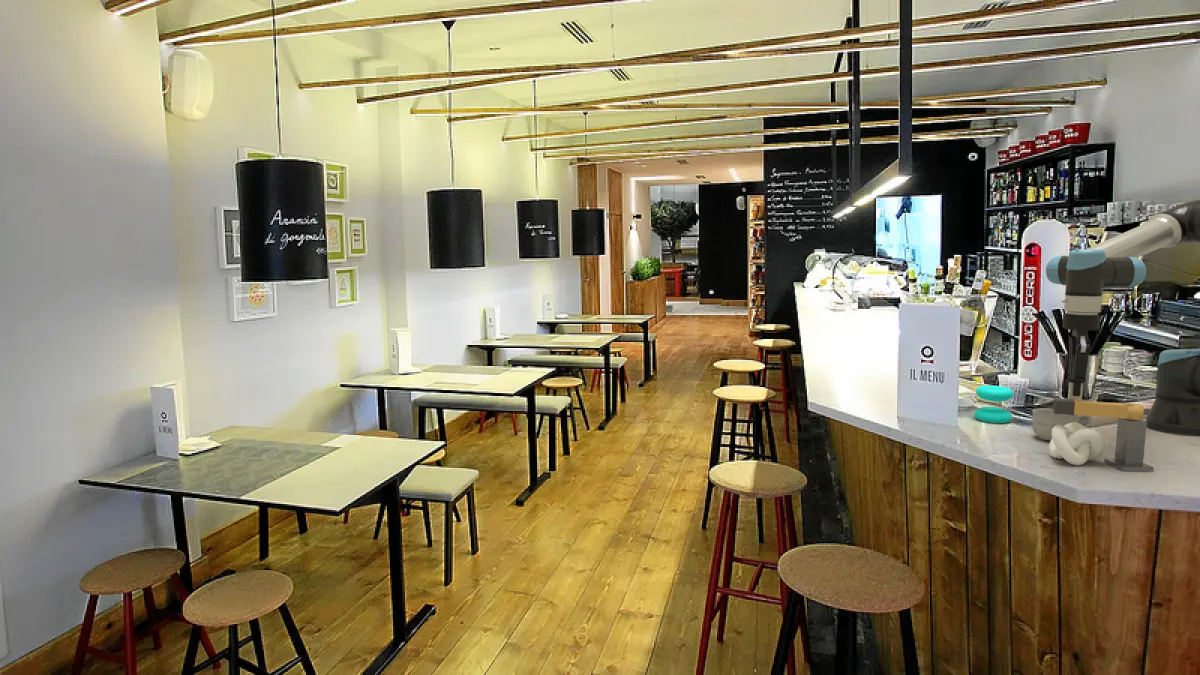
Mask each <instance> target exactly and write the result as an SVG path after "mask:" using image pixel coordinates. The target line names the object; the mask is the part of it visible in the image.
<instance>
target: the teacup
mask: <svg viewBox="0 0 1200 675" xmlns="http://www.w3.org/2000/svg"><path fill="white" fill-rule="evenodd" d="M1082 418H1086V422H1085V424H1084V425H1083V426H1084V427H1085V428H1088V429H1089V428H1090V426H1091V425H1092V423H1093V420H1092V416H1085V415H1065V414H1055V413H1054V412H1053V408H1033V409H1032V431H1033V433H1034V434H1035V435H1036V436H1038V438H1039V439H1041V440H1043V441H1048V442H1049V441H1051V439H1052V428H1053V427H1054V426H1056V425H1063V426H1064V425H1066V424H1069V423H1073V422H1076V423H1079V422H1080V420H1081V419H1082Z"/></svg>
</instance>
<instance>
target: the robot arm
mask: <svg viewBox="0 0 1200 675" xmlns="http://www.w3.org/2000/svg"><path fill="white" fill-rule="evenodd" d="M1193 243H1194V244H1197V243H1198V244H1200V198H1199V199H1195V200H1194V199H1193V200H1190V201H1187V202H1184V203H1181V204H1179V205H1176V206H1173V207H1171V208H1168V209H1166V210H1163V211H1161V212H1159V213H1157V214H1154V215H1152V216H1151V217H1149V218H1148V220H1147V222H1145V223H1143V224H1141V225H1139V226H1136V227H1134V228H1131V229H1130V230H1127V231H1125V232H1123V233H1121V234H1120V233H1119V234H1117V235H1115V236H1114V237H1111V238H1109V239H1107V240H1104V241H1101V242H1100V243H1097V244H1095V245H1093V246H1090V247H1088V248H1086V249H1072V250H1070V252H1068V254H1067V255H1061V256H1060V255H1058V256H1054V257H1052V258H1051V259H1049V261H1048V262H1047V263H1046V267H1045V274H1046V278H1047V280H1048V281H1049V282H1050V283H1052V284H1055V285H1061V286H1065V292H1064V297H1065V298H1061V303H1063V311H1064V312H1066V313H1064V314H1062V328H1063V329H1065V330H1070V331H1072V333H1071V335H1069V336H1068V344H1069V345H1068V346H1069V349H1068V351H1069V352H1068V374H1067V376H1068V378H1067V383H1068V393H1067V399H1071V400H1079V401H1083V390H1084V382H1086V381H1087V380H1086V376H1087V369H1088V363H1089V362H1088V361H1089V353H1090V351H1091V350H1090V349H1091V337H1089V333H1088V332H1089V331H1098V330H1099V329H1100V322H1101V321H1100V320H1101V315H1100V314H1099V313H1101V312H1102V303H1103V302H1102V301H1103V300H1102V299H1103V289H1104V288H1105V289H1127V288H1135V287H1138V286H1139V285H1141V284H1142V283H1143V281H1144V280H1145V278H1146V276H1147V267H1146V264H1145V263H1144V262H1143V261H1142V260H1141V259H1140V257H1142V256H1145V255H1147V254H1149V253H1152V252H1154V251H1156V250H1159V249H1160V248H1164V249H1166V248H1167V249H1168V248H1173V247H1175V246H1177V245H1180V244H1183V245H1184V244H1193ZM1158 356H1159V358H1158V363H1157V364H1156V365H1157V369H1156V370H1157V371H1156V382H1155V383H1156V385H1155V395H1154V396H1155V397H1154V401H1153V404H1152V405H1151V407H1150V409H1149V412H1148V413H1147V415H1146V417H1145V421H1147V425H1146V428H1148V429H1151V430H1154V431H1159V432H1162V433H1169V434H1174V435H1184V436H1200V348H1188V349H1187V348H1179V349H1176V348H1175V349H1166V350H1163V351H1161V352H1160V354H1159V355H1158Z"/></svg>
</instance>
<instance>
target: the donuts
mask: <svg viewBox="0 0 1200 675" xmlns="http://www.w3.org/2000/svg"><path fill="white" fill-rule="evenodd" d="M975 394H976V395H977V397H979V398H980V399H983V400H985V401H990V402H1005V401H1010V400H1011V399H1012V398H1013V397H1014V391H1013V390H1012V389H1011V388H1010V387H1006V386H1000V385H988V384H987V385H980V386H978V387H976V390H975ZM974 418H976V420H979V421H980V422H985V423H989V424H1007V423H1009V422H1011V420H1012V418H1013V415H1012V413H1011V412H1010V411H1009V410H1007V409H1005V408H1002V407H998V406H997V407H996V406H982V407H979V408H977V409H975V411H974Z"/></svg>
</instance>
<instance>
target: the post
mask: <svg viewBox="0 0 1200 675" xmlns="http://www.w3.org/2000/svg"><path fill="white" fill-rule="evenodd" d="M1146 425H1147V421H1146V420H1144V419H1142V420H1133V419H1125V418H1117V426H1116V440H1115V450H1114V451H1115V452H1114V458H1113V457H1112V458H1111V457H1109V458H1107V457H1106V458H1104V459H1103V463H1104V462H1105V464H1106V463H1107V465H1108V464H1109V466H1110V467H1113V468H1115V467H1116V468H1115V469H1117V468H1118V469H1117V470H1119V469H1120V470H1119V471H1121V470H1124V471H1123V472H1147V471H1153V472H1154V471H1155V467H1153V466H1151V465H1150V464H1148V463H1145V462H1144V458H1145V457H1144V456H1145V445H1146V435H1147V434H1146V433H1147V426H1146Z"/></svg>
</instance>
